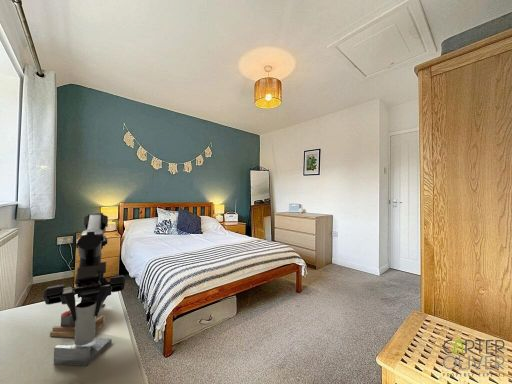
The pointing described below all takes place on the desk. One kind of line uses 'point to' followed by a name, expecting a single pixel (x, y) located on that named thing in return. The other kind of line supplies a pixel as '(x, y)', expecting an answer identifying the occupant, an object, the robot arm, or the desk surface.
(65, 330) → the brown wooden tray
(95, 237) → the robot arm
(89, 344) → the press bed
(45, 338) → the desk surface
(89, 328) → the planter
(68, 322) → the ram lever
